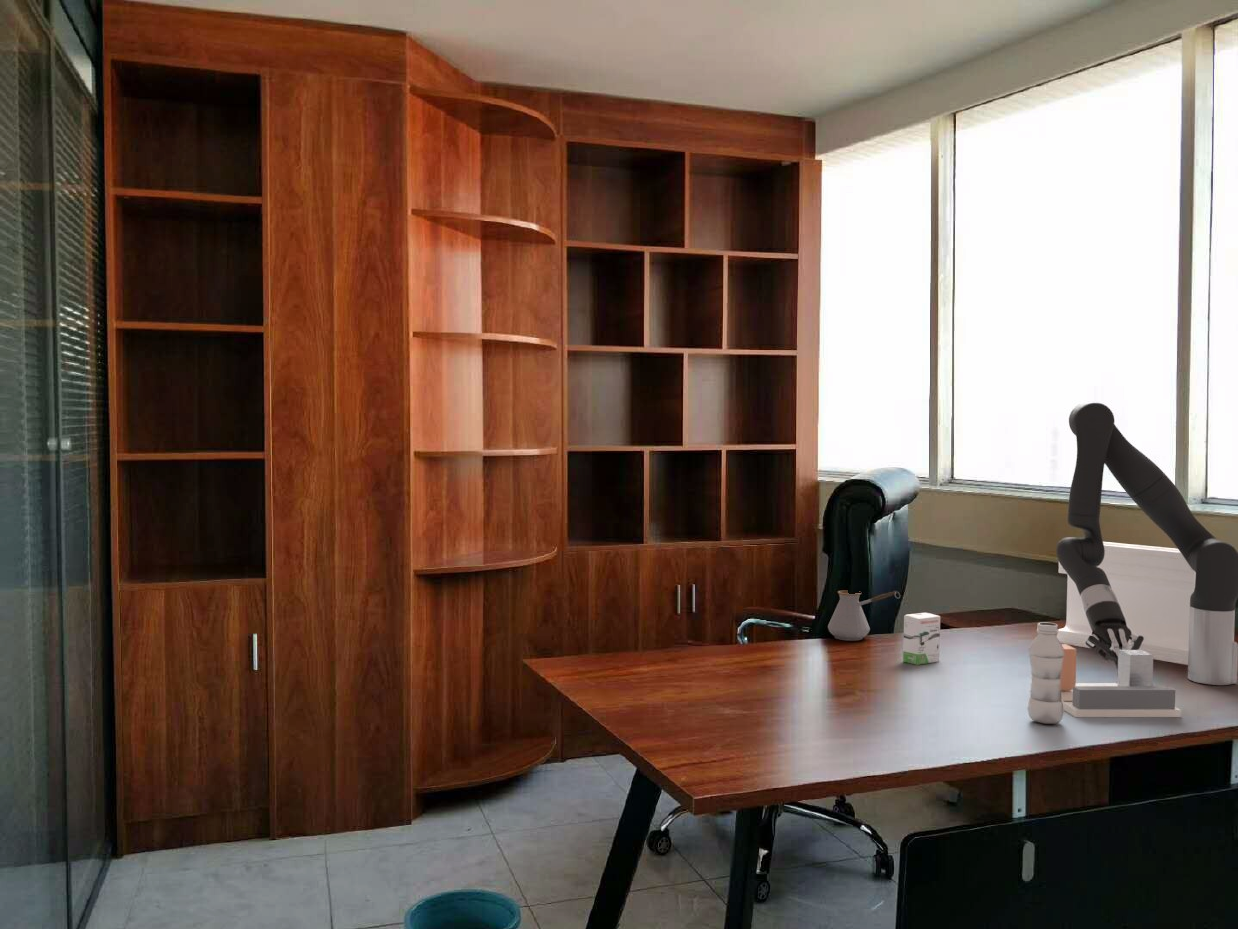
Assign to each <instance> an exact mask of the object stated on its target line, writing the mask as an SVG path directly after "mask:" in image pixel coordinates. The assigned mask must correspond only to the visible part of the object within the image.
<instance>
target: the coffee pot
mask: <svg viewBox="0 0 1238 929" xmlns="http://www.w3.org/2000/svg"><path fill="white" fill-rule="evenodd" d="M837 594H838V596H839V600H838V603H837V604H836V607H835V609H834V612H833V614H832V615H831V619H829V620H830V621H829V623H828V625H827V629H828V632H829V633H830V634H831V635H832V636H834V638H835V639H837V640H840V641H841V640H842V641H852V642H853V641H860V640H861V641H862V640H863V638H865V637H866V636H867V635H868V634H869V632H870V630H871V628H870V626H869V623H868V620H867V617H866V615H865V613H864V609H863V607H862V606H863V605H866V604H870V603H871V602H877V601H880V600H885V599H887V598H888V597H892V596H894V597H895V598H896V599H900V598H901V594H900V592H899V591H897V590H893V591H892V592H891V591H888V592H887V593H882V594H879V595H876V596H875V597H871V598H869V599H867V600H863V601H860V600H859V599H860V595H862V592H861V593H855V594H849V593H848V589H847V590H838V591H837ZM896 594H898V596H899V597H897V596H896Z"/></svg>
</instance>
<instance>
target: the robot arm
mask: <svg viewBox="0 0 1238 929" xmlns="http://www.w3.org/2000/svg"><path fill="white" fill-rule="evenodd" d="M1068 424H1069V429H1070V431H1071V432H1072V433H1073V435H1074V436H1075V438H1076V461H1075V468H1074V472H1073V477H1072V480H1071V485H1070V490H1069V497H1068V506H1067V507H1068V508H1067V524H1068V525H1069V526H1071V527H1073V528H1077V529H1081V530H1082V532H1083V534H1084V537H1071V536H1069V537H1063V538H1062V539H1060V540H1059V541H1058V543H1057V544H1056V545H1057V546H1056V548H1055V549H1056V550H1055V551H1056V557H1057V560H1058V563H1059V562H1060V564H1061V566H1062V567H1063V568H1064V570H1065V571H1066V572H1067V574H1068V575H1069V576H1070V578H1071V579H1072V580H1073V581H1074V582H1075V584H1076V586H1077V589H1078V592H1079V594H1080V597H1081V601H1082V606H1083V609H1084V611H1085V614H1086V617H1087V619H1088V622H1089V625H1090V627H1091V630H1092V635H1090V636H1089V638H1088V639H1087V641H1086V642H1085V644H1086V645H1087V646H1088V647H1090V648H1089V649H1090V650H1092V651H1094V652H1095V653H1096V654H1097V655H1098V656H1100V657H1101V658H1102V659H1104V660H1105V661H1112V662H1113V663H1114V665H1115V667H1116V669H1117V671H1118V650H1128V644H1127V643H1128V641H1129V639H1130V641H1131V642H1130V643H1131V645H1132V648H1131V650H1139V648H1140V646H1141V644H1142V642H1143V640H1144V638H1143V636H1138V637H1137V636H1135V635H1133V634H1132V633H1131V630H1130V629H1129V628H1128V627H1127V625H1126V620H1125V617H1124V615H1123V613H1122V610H1121V608H1120V605H1119V603H1118V600H1117V598H1116V595H1115V594H1114V592H1113V590H1112V588H1111V586H1110V583H1109V581H1108V578H1107V576H1106V574H1105V572H1104V571H1103V570H1102V569H1101V568H1098V567H1097V566H1099V565H1100V564H1101V563H1102V561H1103V559H1104V555H1105V550H1104V544H1103V542H1104V541H1103V535H1102V530H1101V523H1100V517H1101V516H1100V515H1101V503H1102V493H1103V480H1104V469H1105V466H1106V467H1107V469H1108V471H1109V472H1110V473H1111V474H1112V476H1113V477H1114V479H1115V480H1116V481H1117V483H1119V485H1120V486H1121V488H1122V489H1123V490H1124V491H1125V493H1126V494H1127V495H1128V496H1129V498H1130V499H1131V500H1132V501H1133V502H1134V503H1135V504H1136V505H1137V506H1138V508H1140V510H1142V512H1143V513H1145V515H1146V516H1147V517H1148V518H1149V519H1150V520H1151V521H1152V522H1153V523H1154V524H1155V525H1156V526H1157V527H1159V529H1161V531H1163V532H1164V533H1165V534H1166V535H1167V537H1168V538H1169V539H1170V540H1171V542H1172V543H1173V544H1174V545H1175V547H1176V549H1179V551H1180V552H1181V554H1182V555H1183V557H1184V558H1185V559H1186V561H1187V562H1188V564H1189V565H1190V567H1191V568H1192V569H1193V570H1194V571H1195V572H1196V578H1195V589H1194V592H1193V593H1192V594H1191V596H1190V619H1189V651H1188V665H1187V679H1188V680H1190V681H1193V682H1195V683H1199V684H1202V685H1203V684H1205V685H1213V686H1228V685H1233V684H1237V682H1238V680H1237V679H1238V642H1237V641H1235V620H1236V619H1235V618H1236V617H1235V616H1236V613H1235V612H1236V602H1237V600H1238V551H1237V549H1235V548H1236V547H1234V546H1233V545H1231V544H1230V543H1227V542H1225V541H1222V540H1219V539H1218V538H1216V537H1215V536H1214V535H1213V534H1212V533H1211V532H1210V531H1209V530H1207V529H1206V528H1205V527H1204V526H1203V524H1201V523H1200V521H1199V520H1198V519H1197V518H1196V517H1195V516H1194V514H1193V513H1192V511H1191V509H1190V508H1189V506H1188V503H1187V502H1186V500H1185V498H1184V497H1183V494H1182V493H1181V492H1180V490H1179V489H1178V487H1177V486H1176V485H1175V484H1174V483H1173V481H1172V480H1171V479H1170V478H1169V477H1168V476H1167V475H1166V473H1165V472H1164V471H1163V470H1162V469H1161V468H1160V467H1159V466H1158V465H1157V464H1156V463H1154V462H1153V461H1152V460H1151V459H1150V458H1149V457H1148V456H1147V455H1146V454H1144V453H1143V452H1142V451H1140V450H1139V449H1138V448H1136V447H1135V446H1134V445H1133V444H1131V443H1130V441H1128V440H1127V439H1126V437H1125V436H1124V435H1123V434H1122V433H1121V431H1120V430H1119V428H1118V426H1117V425H1116V424H1115V416H1114V413H1113V411H1112V410H1111V409H1110V408H1109V407H1108V406H1107V405H1105V404H1104V403H1100V402H1097V401H1086V402H1082V403H1080V404H1078V405H1076V406H1075V407H1073V408H1072V410H1071V412H1070V414H1069V417H1068ZM1067 574H1066V575H1067Z"/></svg>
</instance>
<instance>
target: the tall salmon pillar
mask: <svg viewBox="0 0 1238 929" xmlns="http://www.w3.org/2000/svg"><path fill="white" fill-rule="evenodd" d="M1061 645H1062V646H1063V649H1064V658H1063V664H1062V670H1061V678H1060V679H1061V690H1073V686H1076V683H1077V682H1076V681H1077V680H1076V678H1077V677H1076V676H1077V648H1075V647H1073V646H1072V645H1068V644H1063V643H1061Z"/></svg>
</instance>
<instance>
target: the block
mask: <svg viewBox="0 0 1238 929" xmlns="http://www.w3.org/2000/svg"><path fill="white" fill-rule="evenodd" d="M1103 544H1104V550H1105V555H1104V559H1103V561H1102V563H1101V564H1100V565H1099V566H1097V567H1098V568H1101V569H1102V570H1103V571H1104V572H1105V574H1106V576H1107V578H1108V581H1109V583H1110V586H1111V588H1112V590H1113V592H1114V594H1115V595H1116V598H1117V600H1118V603H1119V605H1120V608H1121V610H1122V613H1123V615H1124V617H1125V620H1126V625H1127V627H1128V628H1129V629H1130V630H1131V633H1132V634H1133V635H1135V636H1137V637H1138V636H1143V638H1144V640H1143V642H1142V644H1141V646H1140V648H1139V650H1143V651H1145V652H1147V653H1150V654H1152V655H1153V660H1157V661H1162V662H1168V663H1169V662H1170V663H1174V664H1179V665H1185V666H1188V651H1189V619H1190V596H1191V594H1192V593H1193V592H1194V589H1195V578H1196V572H1195V571H1194V570H1193V569H1192V568H1191V567H1190V565H1189V564H1188V562H1187V561H1186V559H1185V558H1184V557H1183V555H1182V554H1181V552H1180V551H1179V549H1178V548H1173V547H1162V546H1152V545H1151V546H1150V545H1143V544H1142V545H1141V544H1132V543H1131V544H1129V543H1122V542H1121V543H1120V542H1110V541H1103ZM1058 573H1059V574H1065V575H1067V586H1066V587H1067V588H1066V589H1067V590H1066V620H1065V621H1066V622H1065V626H1063V628H1059V629H1058V628H1057V631H1058V634H1056V637H1057V639H1058V640H1059V641H1060V643H1061V644H1067V645H1069V646H1075V647H1081V648H1087V649H1091V648H1090V647H1088V646H1087V645H1086V644H1085V642H1086V641H1087V639H1088V638H1089V636H1090V635H1092V630H1091V627H1090V625H1089V622H1088V619H1087V617H1086V614H1085V611H1084V609H1083V606H1082V601H1081V597H1080V594H1079V592H1078V589H1077V586H1076V584H1075V582H1074V581H1073V580H1072V579H1071V578H1070V576H1069V575H1068V574H1067V572H1066V571H1065V570H1064V568H1063V567H1062V566H1061V564H1060V562H1059V561H1058ZM1130 642H1131V641H1130V639H1129V641H1128V643H1127V644H1128V650H1131V648H1132V645H1131V643H1130Z"/></svg>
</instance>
